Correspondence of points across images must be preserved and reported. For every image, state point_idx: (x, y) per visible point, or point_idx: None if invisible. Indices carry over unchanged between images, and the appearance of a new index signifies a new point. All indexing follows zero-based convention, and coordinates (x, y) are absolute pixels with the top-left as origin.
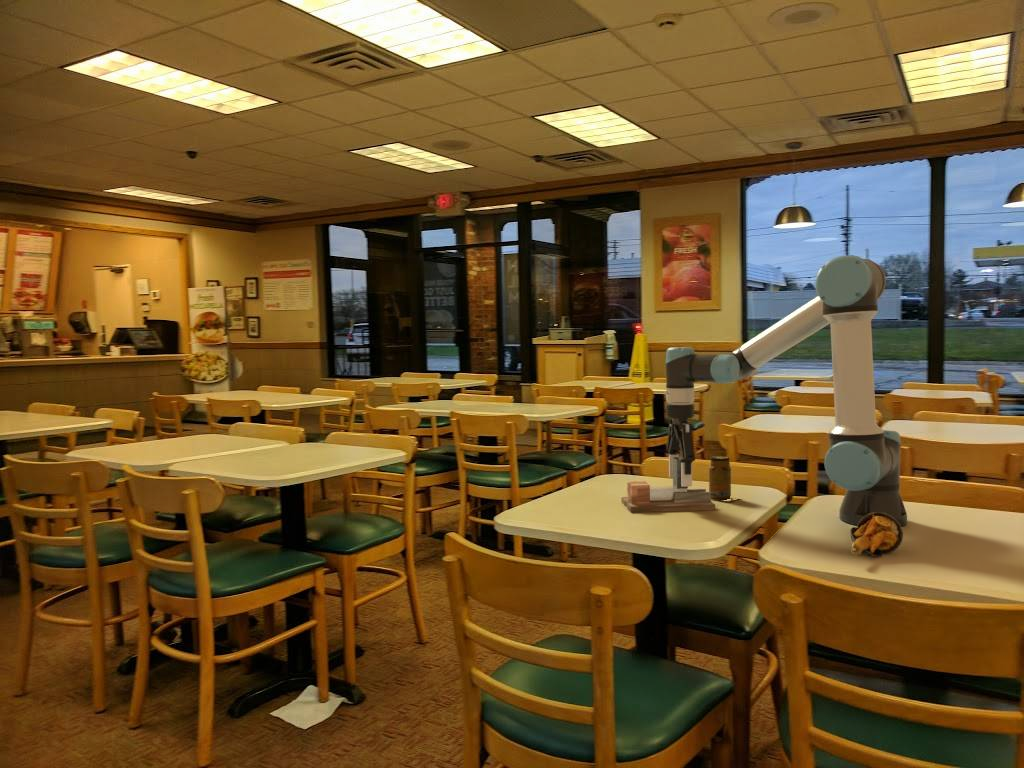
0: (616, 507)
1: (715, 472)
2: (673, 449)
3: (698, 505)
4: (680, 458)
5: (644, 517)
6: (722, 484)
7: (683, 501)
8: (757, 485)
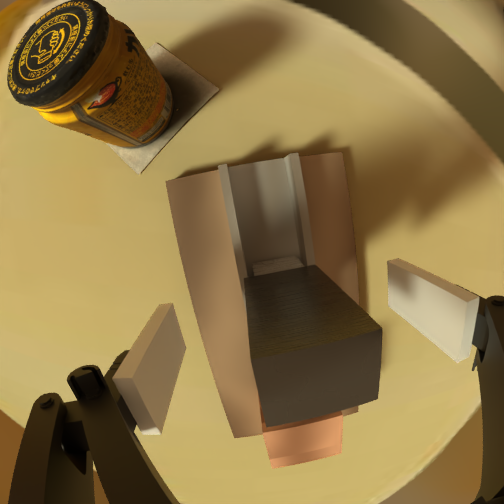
0: None
1: (128, 92)
2: (140, 447)
3: (350, 216)
4: (327, 382)
5: (403, 368)
6: (158, 81)
7: None
8: (11, 35)
